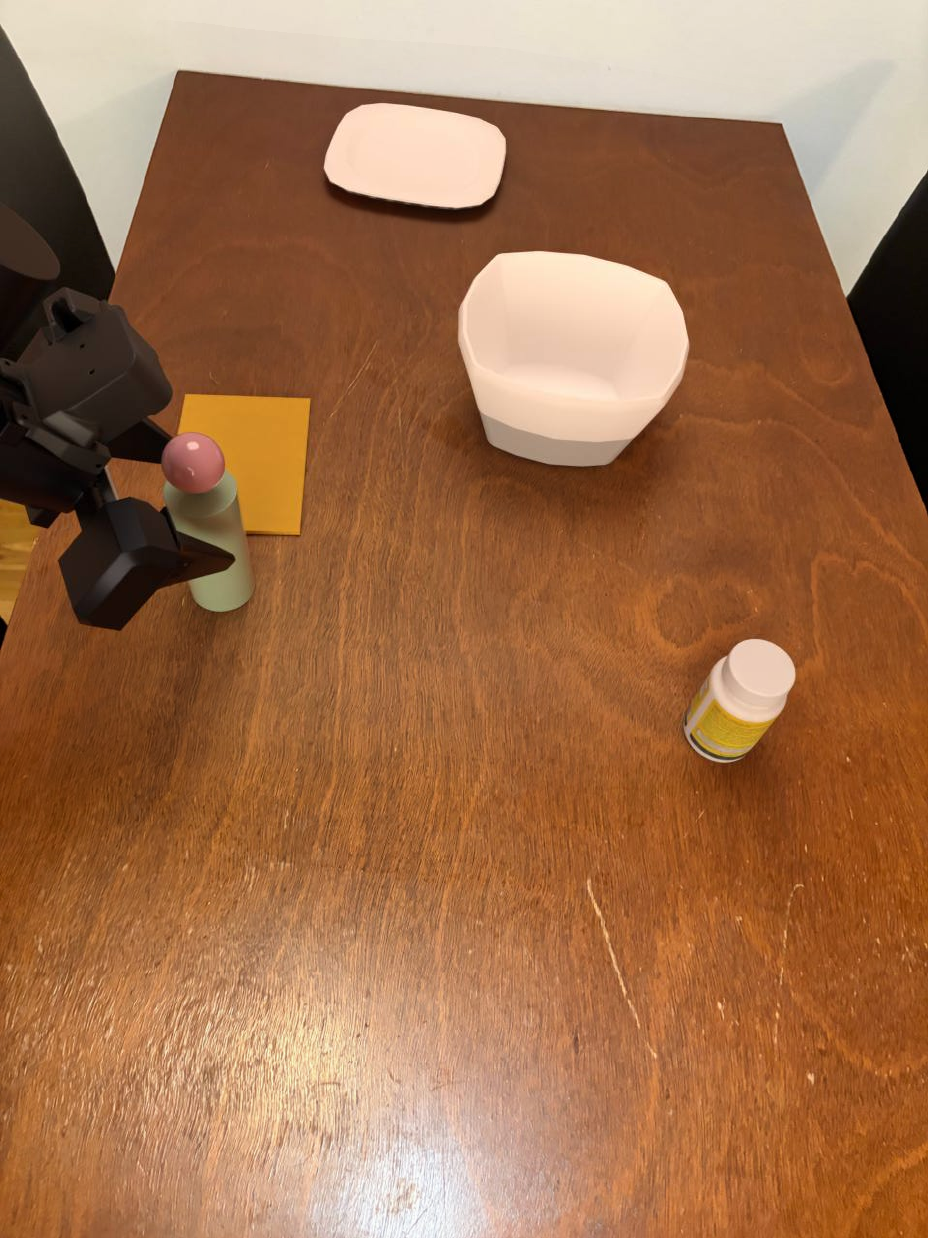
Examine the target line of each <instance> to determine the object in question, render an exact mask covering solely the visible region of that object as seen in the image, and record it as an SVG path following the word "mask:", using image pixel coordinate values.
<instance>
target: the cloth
mask: <svg viewBox="0 0 928 1238" xmlns="http://www.w3.org/2000/svg"><path fill="white" fill-rule="evenodd" d="M183 399H184V400H183V403H182V409H181V415H180V420H179V425H178V426H179V427H178V429H177V430H178V431H177V435H179V434H182V433H186V432H197V433H202V434H204V435H207V436H208V437H210V438H212V439H213V440H214V441H215V442H216V443H217V444H218V445H219V446H220V448H221V450H222V452H223V454H224V457H225V464H226V465H225V469H226V470H227V471H228V472H229V473H230V474H231V475H232V476H233V477H234V479H235V480H236V483H237V488H238V493H239V498H240V504H241V509H242V514H243V520H244V525H245V530H246V535H249V534H250V535H285V536H286V535H289V536H290V535H291V536H300V535H301V530H302V518H303V507H304V506H303V505H304V493H305V479H306V466H307V454H308V441H309V429H310V417H311V404H312V400H311V398H309V397H308V398H306V397H283V396H281V397H280V396H254V395H251V396H250V395H222V394H200V393H199V394H198V393H197V394H195V393H185V394H184V398H183ZM164 506H165V502H164V503H163V507H164Z"/></svg>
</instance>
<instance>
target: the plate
mask: <svg viewBox="0 0 928 1238" xmlns="http://www.w3.org/2000/svg"><path fill="white" fill-rule="evenodd" d="M506 155H507V142H506V136H504V134H503V133H502V131H501V130H500V128H498V127H497V126H496V125H494V124H492V123H491V122H488V121H485V120H483V119H482V118H480V117H475V116H471V115H466V114H462V113H457V112H452V111H446V110H441V109H434V108H429V107H421V106H416V105H415V106H414V105H407V104H399V103H398V104H397V103H387V102H386V103H385V102H379V103H369V104H368V103H367V104H361V105H359V106H357V107H355V108H354V109H352V110H350V111H348V112H347V113H345V115H344V116H343V117H342V120H341V121H340V122H339V123H338V125H337V127H336V129H335V131H334V133H333V136H332V138H331V140H330V143H329V145H328V147H327V151H326V153H325V158H324V163H323V164H324V165H323V171H324V173H325V176H326V177H327V179H328V181H329V183H330V184H332V185H333V186H336V187H337V188H339V189H341V190H343V191H345V192H347V193H348V194H352V195H356V196H361V197H364V198H369V199H373V200H378V201H384V202H389V203H395V204H401V205H408V206H415V207H422V208H427V209H439V210H440V209H441V210H454V211H458V210H467V209H473V208H480V207H481V206H483V205H484V204H485V203H487V202H488V201H489V200H491V199H492V198H494V197H495V194H496V192H497V190H498V188H499V185H500V183H501V179H502V175H503V171H504V166H505V162H506V161H505V159H506Z"/></svg>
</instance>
